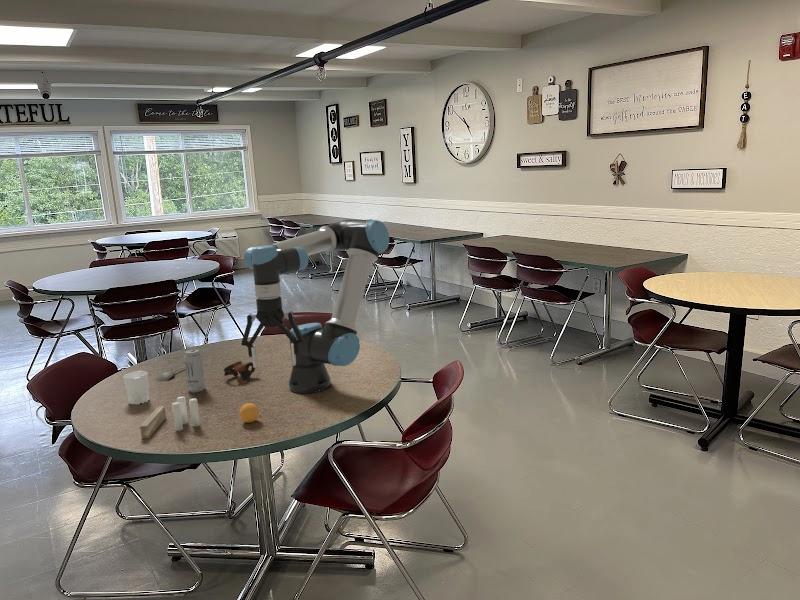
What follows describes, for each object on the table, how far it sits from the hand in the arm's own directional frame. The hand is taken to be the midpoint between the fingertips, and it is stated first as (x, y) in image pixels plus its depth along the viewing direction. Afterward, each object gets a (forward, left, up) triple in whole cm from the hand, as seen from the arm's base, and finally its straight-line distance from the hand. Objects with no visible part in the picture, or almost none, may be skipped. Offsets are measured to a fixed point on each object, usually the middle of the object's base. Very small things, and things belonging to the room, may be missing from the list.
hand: (274, 365), depth 188 cm
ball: (+9, 0, -15) cm, 18 cm away
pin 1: (+31, -2, -18) cm, 36 cm away
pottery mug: (+21, -43, -19) cm, 51 cm away
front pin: (+26, 0, -18) cm, 32 cm away
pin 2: (+31, +3, -18) cm, 36 cm away
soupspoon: (+49, -56, -19) cm, 77 cm away
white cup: (+53, -25, -18) cm, 62 cm away
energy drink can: (+35, -33, -18) cm, 52 cm away
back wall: (+39, 0, -18) cm, 43 cm away
